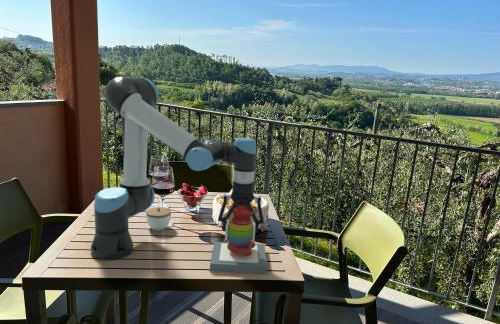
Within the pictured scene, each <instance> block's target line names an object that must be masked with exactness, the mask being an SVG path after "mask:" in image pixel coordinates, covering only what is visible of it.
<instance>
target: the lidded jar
mask: <svg viewBox="0 0 500 324" xmlns="http://www.w3.org/2000/svg"><path fill="white" fill-rule="evenodd" d="M145 214H146V215H145V216H146V222H147V225H148V226H149V228H151V230H152V231H163V230H165V229H166V228H167V227H168V226H169V225H170V223H171V216H172V210H171V209H169V208H166V207H162V206H160V207H158V206H157V207H151V208H148V209H146V210H145Z"/></svg>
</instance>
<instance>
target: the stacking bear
mask: <svg viewBox="0 0 500 324" xmlns="http://www.w3.org/2000/svg"><path fill="white" fill-rule="evenodd" d="M252 214H253V213H252V211H251V210H250V209H248V207H247V206H246V205H237V206H236V208H234V210H233V212H232V215H233V217H232V218H231V219H230V221H229V222H228V236H227V241H228V242H229V243H228V245H227V248H228V250H229V251H231V252H233V253H235V254H238V255H244V256H249V255H251V254H252V250H251V249H252V248H254V247H255V244H256V242H255V241H254V242H252V235H253V222H252V219H251V218H252Z"/></svg>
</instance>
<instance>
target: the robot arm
mask: <svg viewBox="0 0 500 324" xmlns="http://www.w3.org/2000/svg"><path fill="white" fill-rule="evenodd" d="M159 95H160V94H159V90H158V87H157V86H156V84H155V83H154V82H153V81H152V80H150V79H148V78H145V77H140V76H139V77H136V76H133V77H132V76H129V77H128V76H117V77H114V78H113V79H111V80H109V81H108V83H107V84H106V87H105V89H104V98H105V101H106V103H107V104H108V106H109V107H110V108H111V109H112V110H113V111H114V112H116V113H117V114H118V115H120V116H121V117H123V118H124V145H123V146H124V151H123V152H124V153H123V156H124V157H123V177H122V178H121V179H120V180H119V187H118V186H116V187H115V186H113V187H108V188H104V189H102V190H99V191H98V192H97V193H96V194H95V196H94V203H93V210H94V230H95V231H94V236H93V239H92V242H91V244H90V255H91V256H92V257H93V258H95V259H99V260H108V261H109V260H117V259H123V258H124V257H127V256H129V255H130V254H131V253H132V252H133V251H134V241H133V239H132V236H131V233H130V230H129V219H131V218H133V217H134V216H136V215H138V214H140V213H143V212H146V211H147V210H148V209H150V207H151V206H152V205H153V203H154V201H155V196H156V193H155V190H154V188H153V186H152V185H151V181H150V179H148V178H147V165H148V164H147V163H148V162H147V161H148V137H149V135H148V134H149V133H150V134H151V135H153V136H154V137H155V138H157V139H159V141H161V142H162V143H164V144H165V145H167V147H170V148H171V149H172V150H173V151H175V152H176V153H178V154H179V155H180V156H182V158H183V157H184V158H185V162H186V163H187V166H188V167H189V168H190V170H193V171H196V172H201V171H204V170H207V169H209V168H211V167H212V166H215V165H217V164H220V163H225V164H231V165H233V172H232V174H233V175H232V180H233V181H232V188H231V189H232V192H231V194H227V193H223V197H222V199H223V202H222V204H221V209H220V211H219V215H218V219H217V221H218V222H221V223H222V231H223V232H225V234H224V235H225V236H224V240H225V241H228V226H229V218H231V215H233V210H234V208H236V206H237V205H246V206H247V207H248V209H250V210H251V211H252V213H253V214H252V216H251V218H252V219H253V222H252V228H253V235H252V239H251V241H252V242H254V243H255V240H256V239H255V238H256V237H255V236H256V233H257V234H258V233H259V225H261V224H262V225H263V224H264V223H265V222H264V216H263V215H264V214H263V210H262V204H261V203H262V196H261V195H258V196H257V195H255V194H254V184H255V183H254V181H255V169H256V158H257V142H256V140H255V139H254V138H251V137H236V138H235V140H234V142H229V141H222V140H216V139H206V140H205V141H204V142H202V141H201V140H199V138H196V137H195V136H194V135H193V134H191V133H190V132H188V131H187V130H185V129H184V128H183V127H181V126H180V125H179V124H177V123H176V122H174V121H173V120H172V119H170V118H169V117H167V116H166V115H164V113H161V112H160V111H159V110H157V109H156V108H155V106H156V104H157V103H158V102H159V98H160V96H159ZM230 199H231V200H232V202H233V203H232V205H231V206H230V207H229V209H228V211H227V212H226V213H225V215H224V212H225V210H226V207H227V204H228V202H229V200H230ZM253 201H254V202H255V203H256V206H257V210H258V215H259V219H258V217H257V214H256V212H255V210H254V208H253V206H252V202H253Z"/></svg>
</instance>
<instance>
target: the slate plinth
mask: <svg viewBox="0 0 500 324" xmlns="http://www.w3.org/2000/svg"><path fill="white" fill-rule="evenodd" d="M228 243H229V241H228V242H226V241H224V242H223V241H213V246H212V251H211V257H210V262H209V272H211V273H212V272H214V273H215V272H216V273H231V274H232V273H233V274H234V273H235V274H254V275H267V272H268V263H267V262H268V261H267V255H266V254H267V253H266V246H265V244H264V243H255V247H254V248H252V249H251V250H252V254H251V255H249V256H244V255H238V254H235V253H233V252H231V251H229V250H228V248H227V245H228Z"/></svg>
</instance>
